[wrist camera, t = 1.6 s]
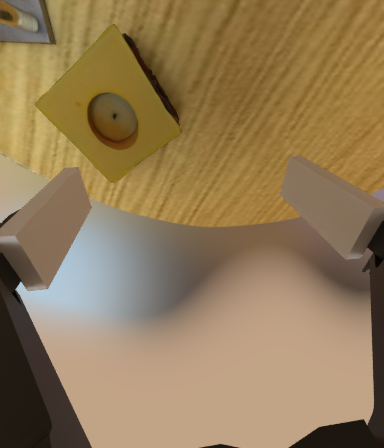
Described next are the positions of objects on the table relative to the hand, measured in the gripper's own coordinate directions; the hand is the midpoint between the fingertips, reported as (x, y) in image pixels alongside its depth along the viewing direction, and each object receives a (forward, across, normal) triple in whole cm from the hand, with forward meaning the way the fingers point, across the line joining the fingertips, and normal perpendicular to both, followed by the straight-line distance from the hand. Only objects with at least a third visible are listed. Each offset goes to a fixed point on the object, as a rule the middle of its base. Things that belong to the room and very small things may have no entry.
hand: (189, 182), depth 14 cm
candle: (+20, -6, +3) cm, 22 cm away
